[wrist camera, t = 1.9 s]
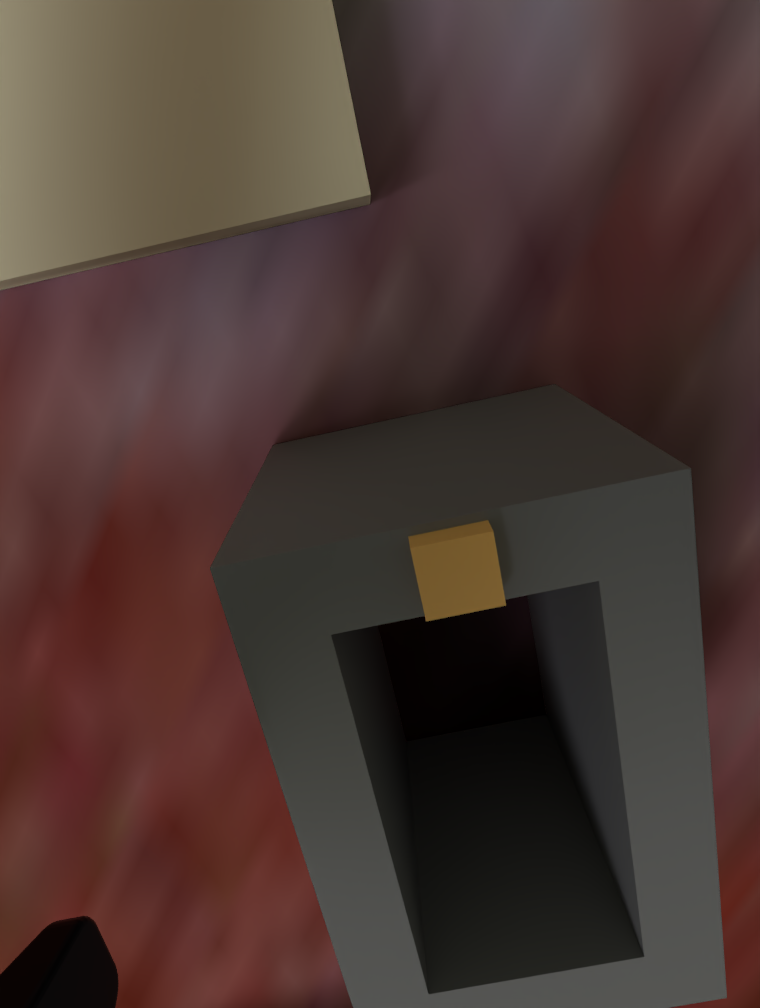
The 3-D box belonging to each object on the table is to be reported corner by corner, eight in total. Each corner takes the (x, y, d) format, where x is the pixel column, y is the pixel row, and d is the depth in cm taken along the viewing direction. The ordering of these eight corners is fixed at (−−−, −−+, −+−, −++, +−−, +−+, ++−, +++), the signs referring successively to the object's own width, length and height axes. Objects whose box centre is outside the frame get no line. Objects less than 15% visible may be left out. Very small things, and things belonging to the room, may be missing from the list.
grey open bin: (601, 745, 14) (738, 1020, 9) (368, 790, 14) (370, 1083, 9) (554, 384, 11) (705, 477, 6) (273, 444, 12) (203, 581, 7)
